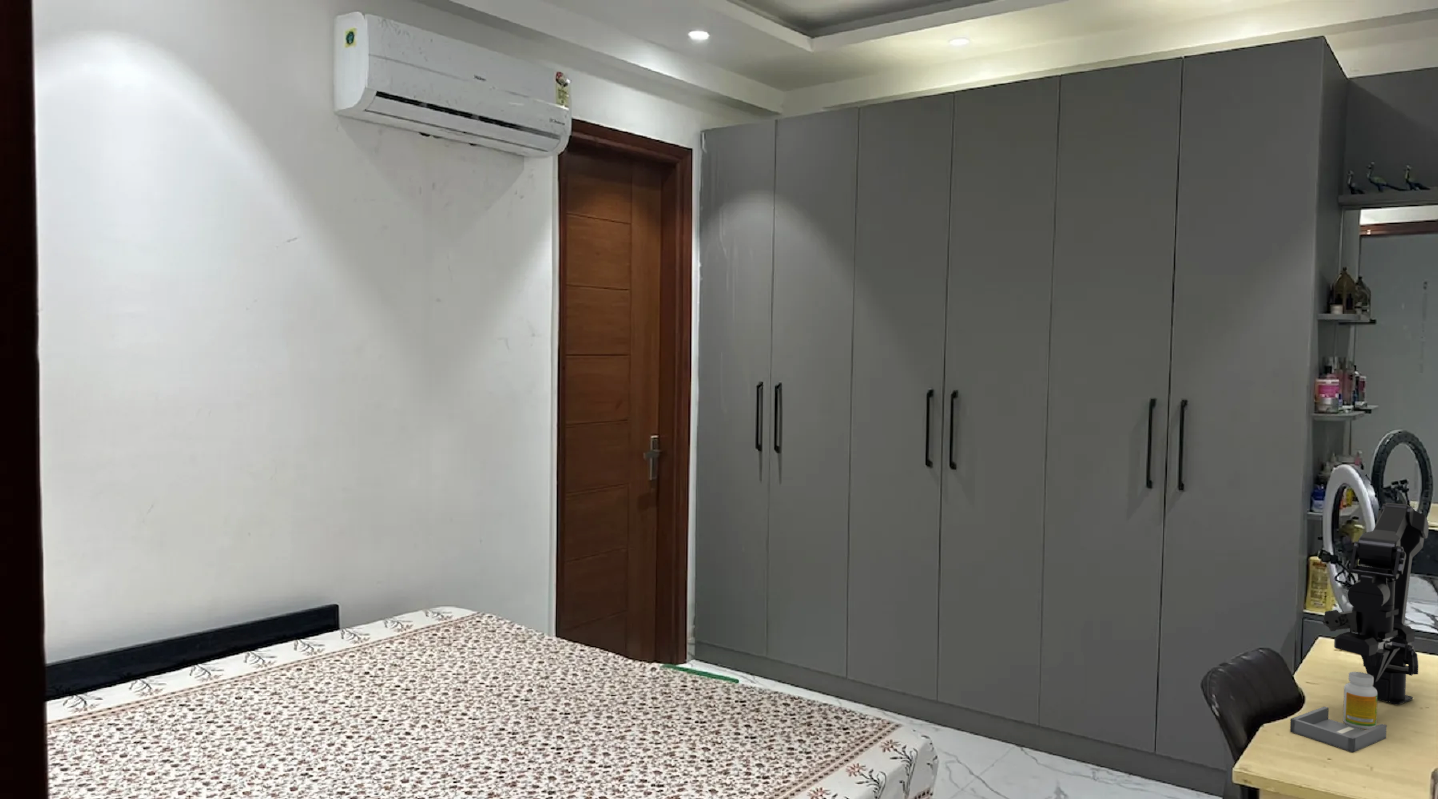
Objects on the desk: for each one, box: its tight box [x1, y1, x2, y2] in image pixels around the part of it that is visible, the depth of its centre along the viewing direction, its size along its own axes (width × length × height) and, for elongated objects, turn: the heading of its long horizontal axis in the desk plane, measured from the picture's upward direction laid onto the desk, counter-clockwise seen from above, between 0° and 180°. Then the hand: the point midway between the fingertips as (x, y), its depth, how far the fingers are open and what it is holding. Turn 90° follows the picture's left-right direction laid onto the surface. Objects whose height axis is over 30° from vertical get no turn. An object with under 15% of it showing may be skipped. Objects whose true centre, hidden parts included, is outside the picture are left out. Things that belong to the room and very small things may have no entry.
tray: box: [1289, 706, 1387, 753], centre depth 182 cm, size 12×11×2 cm
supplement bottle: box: [1342, 671, 1378, 730], centre depth 187 cm, size 5×5×10 cm
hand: (1373, 681), depth 189 cm, fingers closed
